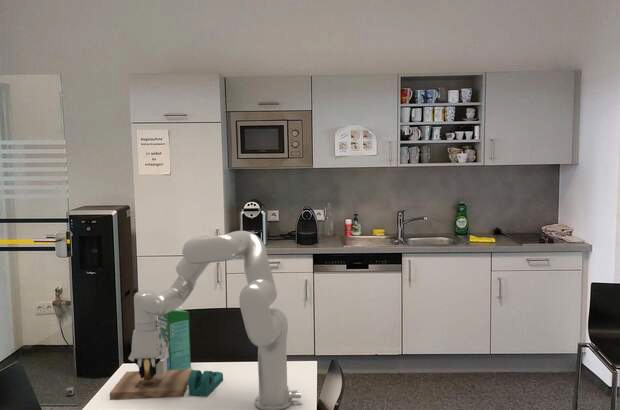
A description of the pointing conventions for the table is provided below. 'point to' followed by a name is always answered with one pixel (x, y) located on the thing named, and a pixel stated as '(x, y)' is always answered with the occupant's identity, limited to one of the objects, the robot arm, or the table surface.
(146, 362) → the brass pin
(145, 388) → the walnut board
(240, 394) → the table surface
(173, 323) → the milk carton
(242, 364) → the table surface
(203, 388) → the bracket
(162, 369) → the cream cube
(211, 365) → the table surface
